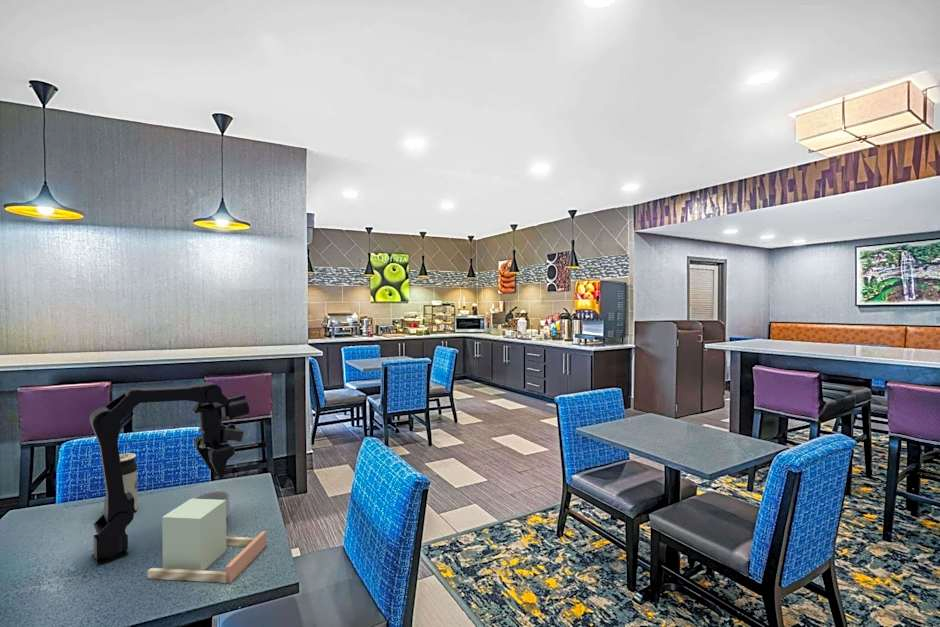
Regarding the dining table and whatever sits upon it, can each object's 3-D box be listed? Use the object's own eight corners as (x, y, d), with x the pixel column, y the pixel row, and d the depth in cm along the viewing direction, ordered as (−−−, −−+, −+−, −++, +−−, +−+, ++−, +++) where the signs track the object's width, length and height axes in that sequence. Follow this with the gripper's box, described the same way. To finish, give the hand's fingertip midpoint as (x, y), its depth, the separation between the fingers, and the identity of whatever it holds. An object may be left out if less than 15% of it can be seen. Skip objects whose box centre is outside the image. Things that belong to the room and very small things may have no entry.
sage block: (162, 571, 118) (162, 517, 118) (191, 548, 129) (191, 498, 129) (200, 573, 117) (200, 518, 117) (226, 550, 128) (226, 499, 128)
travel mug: (101, 519, 145) (100, 462, 145) (113, 508, 153) (113, 453, 152) (131, 516, 147) (130, 460, 147) (141, 505, 155) (141, 451, 154)
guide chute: (147, 578, 115) (147, 562, 115) (194, 542, 132) (193, 528, 132) (230, 582, 113) (230, 566, 113) (266, 545, 131) (266, 531, 131)
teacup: (217, 532, 138) (217, 505, 138) (181, 531, 138) (180, 504, 138) (241, 511, 152) (241, 486, 152) (208, 510, 152) (208, 486, 152)
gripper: (250, 422, 141) (255, 472, 142) (229, 411, 154) (233, 457, 155) (210, 432, 133) (215, 485, 134) (191, 420, 146) (196, 468, 147)
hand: (216, 473), depth 143 cm, fingers open, 9 cm apart
